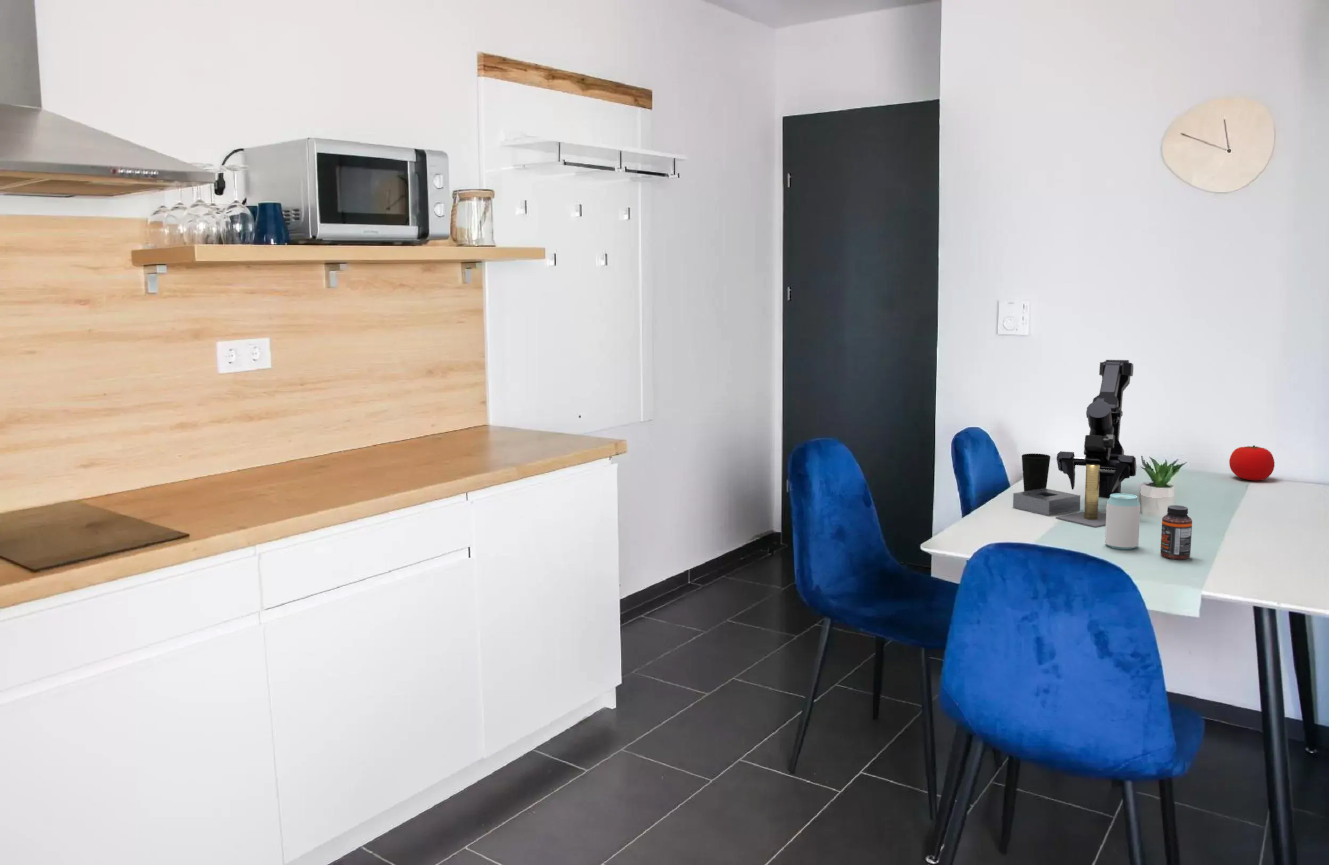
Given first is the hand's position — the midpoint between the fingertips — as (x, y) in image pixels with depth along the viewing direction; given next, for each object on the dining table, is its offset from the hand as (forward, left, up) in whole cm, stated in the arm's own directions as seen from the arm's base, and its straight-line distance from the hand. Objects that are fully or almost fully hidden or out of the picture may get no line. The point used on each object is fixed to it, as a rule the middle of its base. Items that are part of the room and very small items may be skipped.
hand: (1091, 490), depth 254 cm
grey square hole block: (-2, -15, -8) cm, 17 cm away
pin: (-1, 0, -7) cm, 8 cm away
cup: (-11, -27, -8) cm, 31 cm away
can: (+15, +21, -8) cm, 27 cm away
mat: (-2, 0, -8) cm, 8 cm away
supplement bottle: (+13, +33, -8) cm, 36 cm away
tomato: (-83, -8, -8) cm, 83 cm away
